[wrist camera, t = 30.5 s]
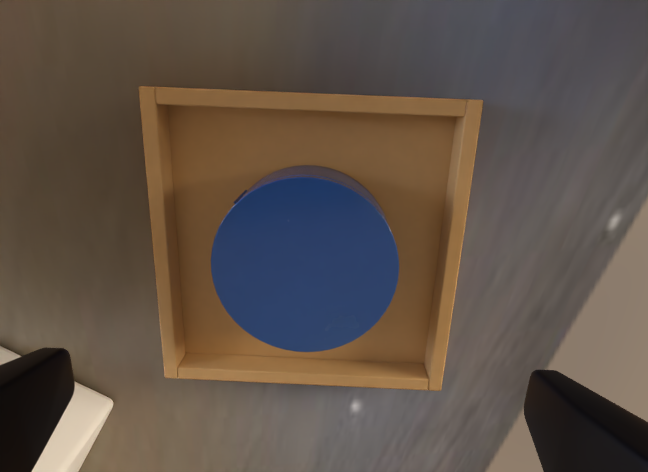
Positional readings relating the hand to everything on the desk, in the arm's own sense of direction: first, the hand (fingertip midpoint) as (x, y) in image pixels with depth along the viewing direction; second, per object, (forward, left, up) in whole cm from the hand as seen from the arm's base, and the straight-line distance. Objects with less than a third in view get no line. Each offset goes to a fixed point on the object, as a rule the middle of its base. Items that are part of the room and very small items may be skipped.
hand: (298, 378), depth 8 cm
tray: (0, +1, -10) cm, 11 cm away
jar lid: (0, +1, -8) cm, 8 cm away
